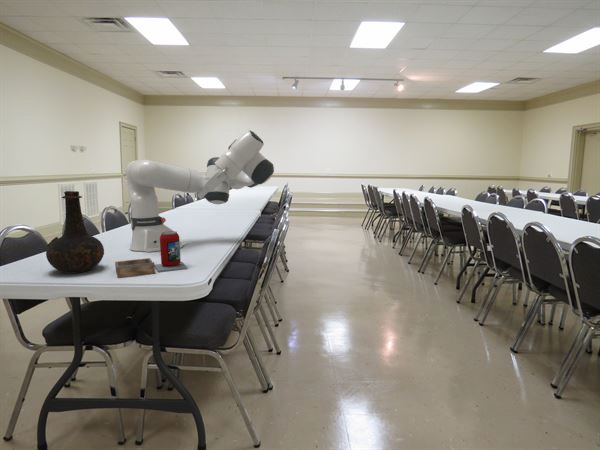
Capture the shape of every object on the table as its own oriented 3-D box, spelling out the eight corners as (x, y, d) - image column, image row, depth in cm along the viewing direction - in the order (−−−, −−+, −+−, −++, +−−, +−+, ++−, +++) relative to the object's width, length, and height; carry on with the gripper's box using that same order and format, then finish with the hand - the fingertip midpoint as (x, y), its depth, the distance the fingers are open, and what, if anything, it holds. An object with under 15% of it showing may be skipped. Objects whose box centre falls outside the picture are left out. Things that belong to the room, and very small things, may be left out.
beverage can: (175, 267, 143) (173, 234, 141) (157, 266, 144) (155, 233, 142) (184, 263, 150) (182, 231, 148) (167, 262, 151) (165, 230, 149)
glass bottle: (58, 265, 150) (51, 190, 146) (110, 262, 154) (104, 189, 150) (39, 278, 132) (30, 193, 128) (98, 275, 136) (91, 192, 132)
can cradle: (150, 266, 148) (149, 256, 148) (154, 273, 138) (154, 262, 137) (115, 269, 143) (114, 259, 142) (117, 277, 133) (116, 266, 132)
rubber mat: (182, 263, 153) (181, 261, 152) (187, 268, 144) (187, 267, 144) (154, 266, 148) (154, 264, 148) (158, 272, 139) (158, 270, 139)
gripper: (233, 175, 135) (205, 205, 135) (232, 174, 155) (207, 200, 155) (219, 161, 134) (190, 191, 133) (220, 162, 154) (195, 188, 153)
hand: (199, 196), depth 144 cm, fingers open, 8 cm apart
